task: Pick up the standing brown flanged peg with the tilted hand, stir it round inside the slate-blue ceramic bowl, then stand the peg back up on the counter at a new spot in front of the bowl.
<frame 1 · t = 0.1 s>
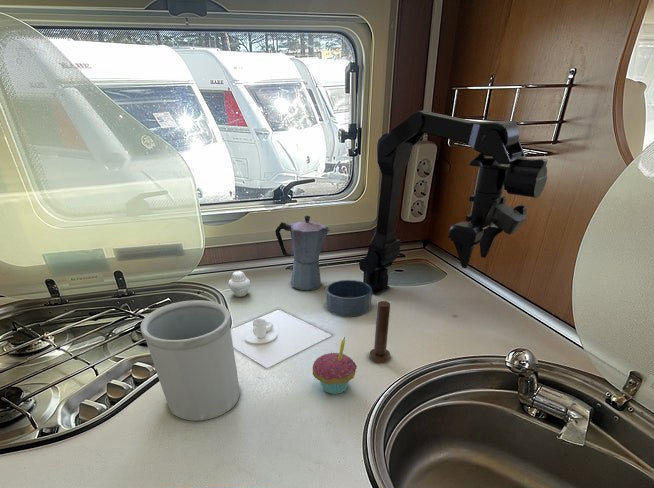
hand: (474, 262, 99), 15 cm above the worktop, tool pointing down, fingers open, 9 cm apart
teacup and saucer: (273, 336, 102), on the worktop
bowl: (348, 306, 114), on the worktop
utensil holder: (204, 399, 82), on the worktop
moka pot: (304, 285, 126), on the worktop
white lidded jar: (241, 295, 122), on the worktop
cupcake: (333, 388, 85), on the worktop
brown flanged peg: (379, 357, 93), on the worktop
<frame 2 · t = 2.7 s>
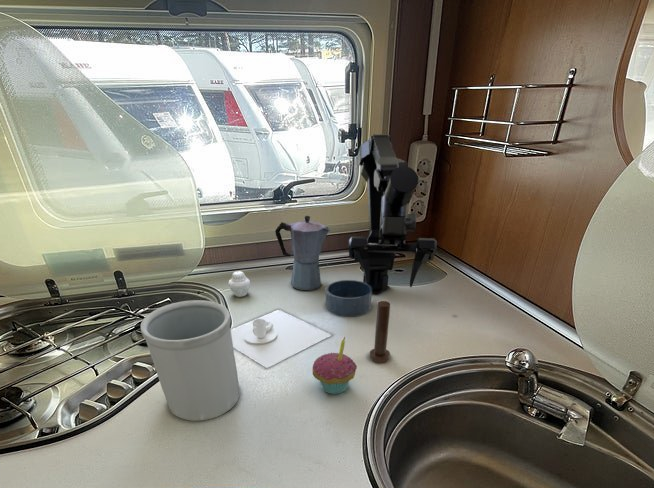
hand: (389, 285, 92), 13 cm above the worktop, tool tilted 45°, fingers open, 9 cm apart
nothing on the worktop moved.
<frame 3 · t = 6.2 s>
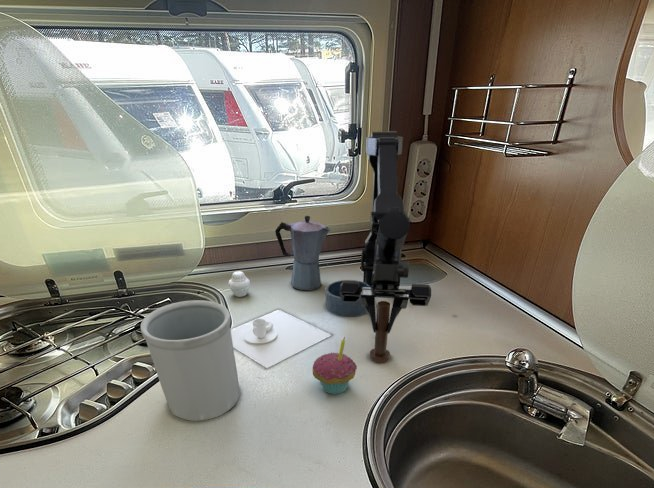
hand: (381, 332, 88), 7 cm above the worktop, tool tilted 45°, fingers closed on brown flanged peg, 2 cm apart
brown flanged peg: (379, 357, 93), on the worktop, touching gripper
everything else where it was.
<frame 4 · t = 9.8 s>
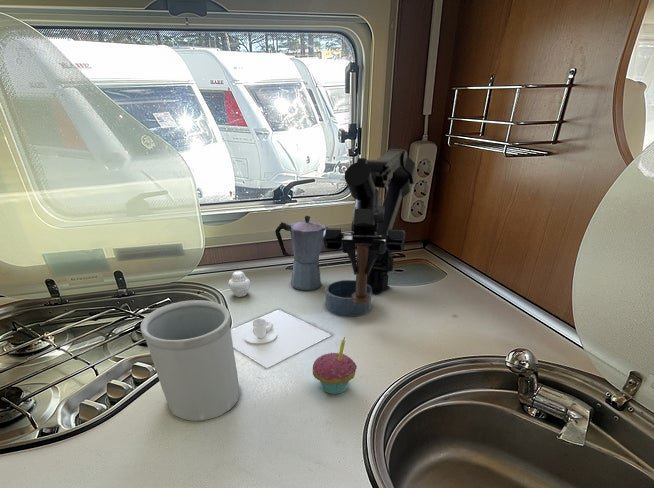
hand: (361, 274, 98), 13 cm above the worktop, tool tilted 45°, fingers closed on brown flanged peg, 2 cm apart
brown flanged peg: (360, 299, 103), point 6 cm above the worktop, touching gripper
everything else where it was.
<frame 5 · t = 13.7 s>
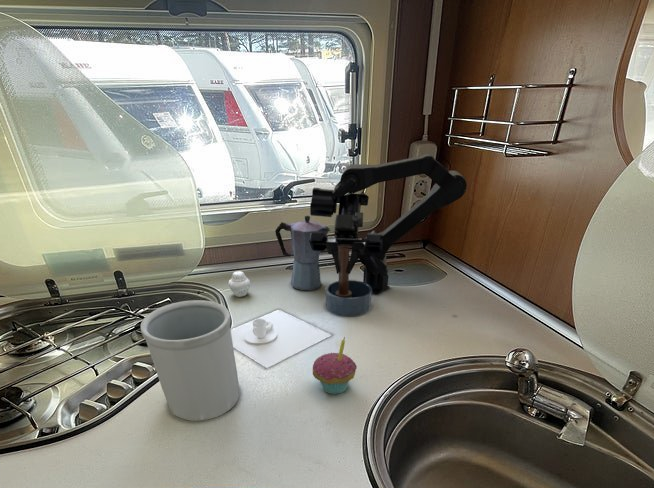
hand: (343, 273, 108), 10 cm above the worktop, tool tilted 45°, fingers closed on brown flanged peg, 2 cm apart
brown flanged peg: (343, 296, 114), point 2 cm above the worktop, touching gripper
everything else where it was.
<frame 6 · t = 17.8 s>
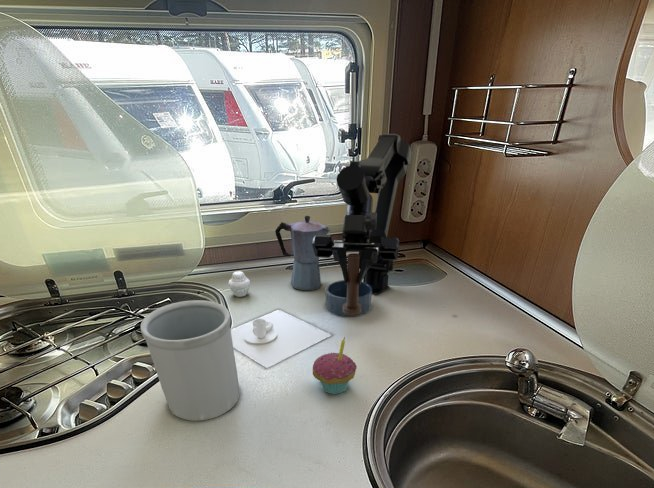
hand: (352, 284, 92), 14 cm above the worktop, tool tilted 45°, fingers closed on brown flanged peg, 2 cm apart
brown flanged peg: (351, 310, 97), point 7 cm above the worktop, touching gripper
everything else where it was.
when the fingers open (7 cm above the worktop, at t = 21.0 s): brown flanged peg stays where it is, on the worktop.
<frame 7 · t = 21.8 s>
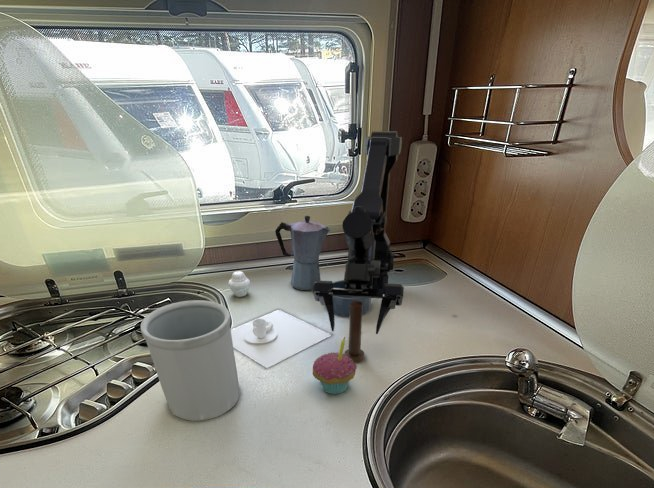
hand: (354, 332, 88), 7 cm above the worktop, tool tilted 45°, fingers open, 9 cm apart
brown flanged peg: (354, 357, 93), on the worktop
everything else where it was.
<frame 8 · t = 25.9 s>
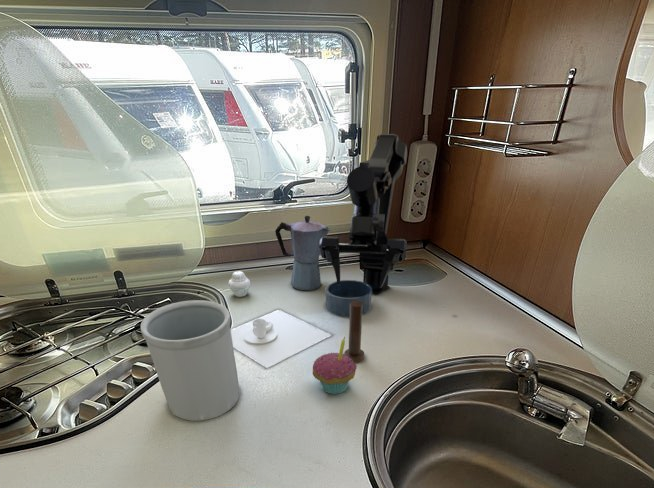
hand: (359, 285, 92), 14 cm above the worktop, tool tilted 45°, fingers open, 9 cm apart
nothing on the worktop moved.
at the end: brown flanged peg 0.2 cm from the target spot on the worktop beside the bowl, on the worktop; brown flanged peg tilted 0°; brown flanged peg moved 5.6 cm from its start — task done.
